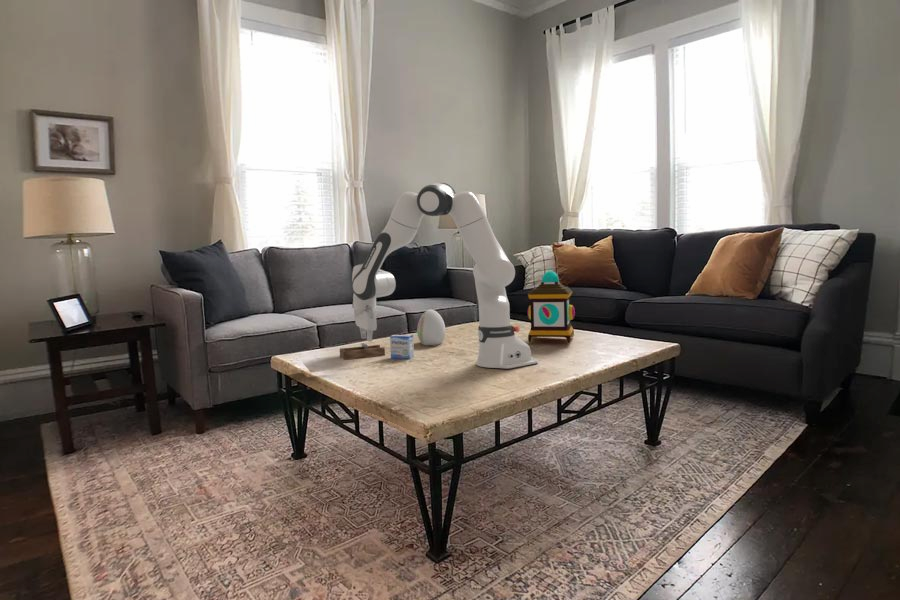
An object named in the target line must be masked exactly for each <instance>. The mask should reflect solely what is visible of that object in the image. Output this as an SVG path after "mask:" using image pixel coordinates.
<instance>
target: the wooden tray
mask: <svg viewBox="0 0 900 600" xmlns="http://www.w3.org/2000/svg"><path fill="white" fill-rule="evenodd" d="M385 355H386V348H385V347H384V346H382V347H381V345H380V344H374V345H367V349H362V346H353V347H345V348H339V357H340V358H341V359H342V360H353V359H361V358H362V359H363V358H371V357H380V356H385Z"/></svg>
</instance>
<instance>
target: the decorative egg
mask: <svg viewBox="0 0 900 600" xmlns="http://www.w3.org/2000/svg"><path fill="white" fill-rule="evenodd" d="M417 323H418V324H417V330H416V332H417V338H418V340H419V342H420V343H421V345H423V346H428V345H433V346H439V345H441V344H442V343H443V342H444V340H445V337H446V335H447V334H446V332H447V331H446V325H445V322H444V319H443V317H442V316H441V314H440V313H438V312H437V310H435V309H427V310H426V311H425V312H424V313H422V315H421V316H420V318H419V320H418V322H417Z"/></svg>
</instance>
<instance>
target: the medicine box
mask: <svg viewBox="0 0 900 600" xmlns="http://www.w3.org/2000/svg"><path fill="white" fill-rule="evenodd" d="M389 344H390V358H391V359H393V360H411V359H413V358H414V357H415V350H414V349H415V348H414V347H415V346H414V335H413V334H392V335H390V336H389Z"/></svg>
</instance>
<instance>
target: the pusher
mask: <svg viewBox="0 0 900 600" xmlns="http://www.w3.org/2000/svg"><path fill="white" fill-rule="evenodd" d="M367 346H368V344H366V343H365V342H363V343H361V347H362V349H367Z"/></svg>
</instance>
